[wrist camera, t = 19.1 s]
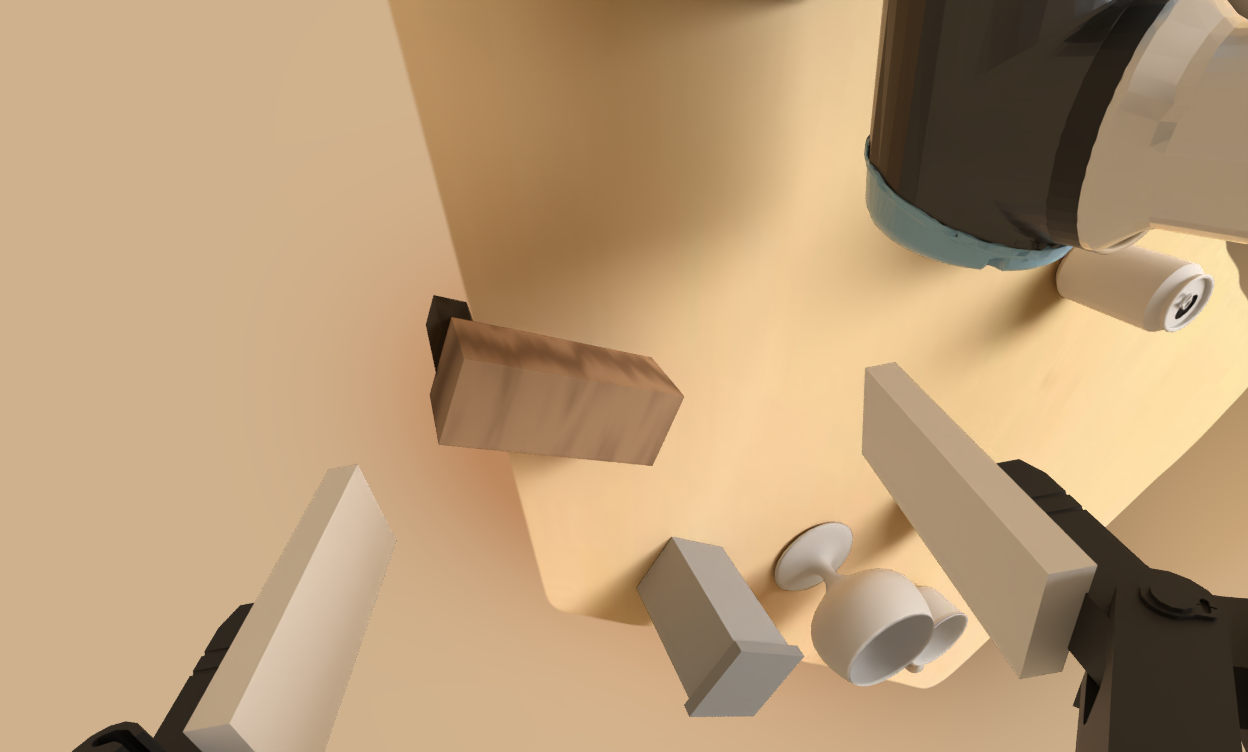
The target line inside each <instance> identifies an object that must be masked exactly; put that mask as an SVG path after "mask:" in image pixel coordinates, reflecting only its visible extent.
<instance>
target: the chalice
mask: <svg viewBox="0 0 1248 752" xmlns="http://www.w3.org/2000/svg"><path fill="white" fill-rule="evenodd" d="M852 543H853V534H852V531H851V529H850V528H849V527H848V526H847V525H845V524H843V523H837V522H832V523H825V524H822V525H819V526H816V527H814V528H812V529H810V530H808V531H807V532H805V533H804V534H802V535H801V536H799V537H798V538H797V539H796V540H794V541H793V542H792V543H791V544H790V545H789V546H788V547H787V549H786V550H785V551H784V552H783V554H782V555H781V557H780V558H779V560H778V563H777V565H776V568H775V573H774V576H775V581H776V583H777V585H778V586H779V587H780V588H782V589H784V590H787V591H800V590H805V589H808V588H811V587H813V586H815V585H817V584H819V583H821V582H822V581H824V582H825V584H826V594H825V596H824V597H823V599H822V600H821V602H820V604H819V605H818V607H817V609H816V611H815V614H814V617H813V620H812V624H811V636H812V641H813V645H814V648H815V649H816V651H817V652H818V654H819V655H820V657H821V658H822V660H823V661H824V662H825V663H826V664H827V665H828V666H829V667H830V668H831V669H832V670H833V671H834V672H836V673H837V674H838V675H840V676H841V677H842V678H844V679H846V680H847V681H849V682H851V683H853V684H855V685H858V686H868V685H873V684H876V683H879V682H882V681H884V680H886V679H888V678H890V677H892V676H893V675H895V674H897V673H898V672H900V671H901V670H903V669H904V668H905V667H907V666H908V665H909V664H910V663H911V662H912V661H914V660H915V659H916V658H917V657H918V656H919V654H920V653H921V652H922V651H923V650H924V649H925V647H926V646H927V645H928V643H929V641H930V639H931V638H932V635H933V632H934V620H933V617H932V615H931V612H930V609H929V607H928V605H927V603H926V601H925V599H924V598H923V596H922V594H921V593H920V591H919V590H918V589H917V587H916V586H915V585H914V584H913V583H912V582H911V581H910V580H909V579H908V578H907V577H905V576H904V575H902V574H900V573H898V572H896V571H893V570H889V569H880V568H878V569H870V570H865V571H861V572H858V573H855V574H853V575H850V576H843V575H840V574H838V573H837V572H835V571H836V570H837V569H838V568H839V567H840V566H841V565H842V564H843V562H844V561H845V560H846V558H847V556H848V554H849V552H850V550H851V547H852Z"/></svg>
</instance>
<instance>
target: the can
mask: <svg viewBox="0 0 1248 752" xmlns="http://www.w3.org/2000/svg"><path fill="white" fill-rule="evenodd" d="M1056 284H1057V289H1058V292H1059V294H1060V295H1061V296H1063V297H1064V298H1067V299H1069V300H1072V301H1074V302H1077V303H1079V304H1082V305H1084V306H1087V307H1089V308H1092V309H1094V310H1097V311H1099V312H1101V313H1104V314H1106V315H1109V316H1111V317H1114V318H1116V319H1119V320H1121V321H1124V322H1126V323H1129V324H1131V325H1134V326H1136V327H1139V328H1141V329H1144V330H1146V331H1151V332H1155V331H1160V330H1165V331H1166V332H1175V331H1177V330H1180V329H1182V328H1183V327H1185V326H1186V325H1188V324H1189V323H1190V322H1191V321H1193V320H1194V319H1195V318H1196V317H1197V316H1198V314H1199V313H1200V312H1201V311H1202V310H1203V308H1204V307H1205V305H1206V304H1207V302H1208V301H1209V299H1210V297H1211V295H1212V292H1213V288H1214V278H1213V277H1212V276H1211V275H1209V274H1204V272H1203V269H1202V268H1201V266H1200V265H1199V264H1197V263H1193V262H1190V261H1186V260H1183V259H1180V258H1176V257H1173V256H1170V255H1166V254H1163V253H1160V252H1156V251H1153V250H1150V249H1146V248H1143V247H1139V246H1136V245H1133V244H1132V245H1131V246H1129V247H1128V248H1126V249H1124V250H1122V251H1119V252H1116V253H1113V254H1108V255H1102V254H1097V253H1093V252H1089V251H1086V250H1082V249H1079V248H1076V247H1073V248H1072V249H1070V250H1069V251H1068V252H1067V254H1066V255H1065V256H1064V258H1063V259H1062V261H1061V263H1060V265H1059V266H1058V269H1057V272H1056Z"/></svg>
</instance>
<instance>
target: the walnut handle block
mask: <svg viewBox="0 0 1248 752" xmlns="http://www.w3.org/2000/svg"><path fill="white" fill-rule="evenodd" d="M426 328H427V333H428V338H429V343H430V347H431V353H432V358H433V362H434V367H435V372H436V374H435V377H434V381H433V385H432V388H431V392H430V399H431V404H432V409H433V415H434V421H435V426H436V432H437V437H438V443H439V445H448V446H458V447H468V448H478V449H488V450H498V451H508V452H518V453H528V454H538V455H548V456H558V457H568V458H578V459H588V460H598V461H608V462H618V463H628V464H638V465H648V466H653V463H654V461H655V459H656V457H657V455H658V453H659V450H660V448H661V446H662V444H663V442H664V440H665V437H666V435H667V433H668V431H669V429H670V427H671V424H672V422H673V420H674V418H675V416H676V414H677V411H678V409H679V407H680V405H681V403H682V401H683V398H684V395H683V394H682V393H681V392H680V391H679V389H678V388H677V387H676V386H675V385H674V384H673V382H672V381H671V380H670V379H669V378H668V377H667V375H666V374H665V373H664V372H663V371H662V369H661V368H660V367H659V366H658V365H657V364H656V362H655V361H654V360H653V359H652V358H651V357H646V356H641V355H636V354H631V353H626V352H621V351H616V350H611V349H606V348H601V347H596V346H592V345H587V344H582V343H577V342H572V341H567V340H562V339H557V338H552V337H547V336H542V335H537V334H532V333H527V332H523V331H518V330H513V329H508V328H503V327H498V326H493V325H488V324H483V323H478V322H473V319H472V315H471V313H470V310H469V307H468V305H467V302H463V301H459V300H454V299H450V298H445V297H441V296H436V295H433V299H432V303H431V306H430V310H429V314H428V318H427V322H426Z"/></svg>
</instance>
